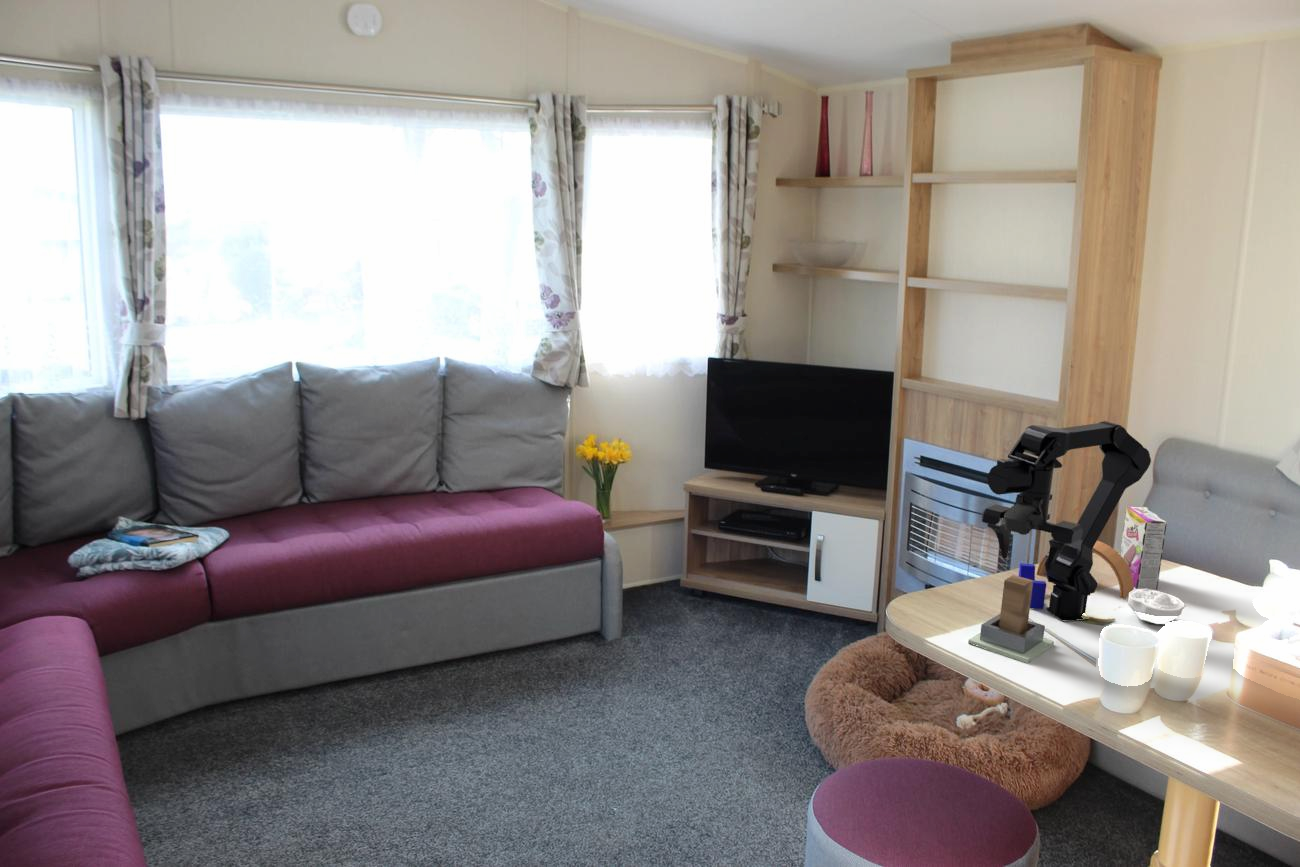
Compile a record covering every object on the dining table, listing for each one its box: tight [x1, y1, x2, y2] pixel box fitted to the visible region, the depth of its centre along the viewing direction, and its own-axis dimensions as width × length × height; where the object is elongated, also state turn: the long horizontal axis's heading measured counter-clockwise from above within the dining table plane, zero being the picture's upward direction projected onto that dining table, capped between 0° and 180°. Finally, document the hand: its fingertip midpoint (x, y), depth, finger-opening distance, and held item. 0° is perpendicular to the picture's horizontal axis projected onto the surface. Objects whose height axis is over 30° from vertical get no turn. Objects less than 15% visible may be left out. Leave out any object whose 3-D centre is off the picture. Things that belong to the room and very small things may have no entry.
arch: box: [1036, 540, 1135, 600], centre depth 248 cm, size 6×20×10 cm, turn 46°
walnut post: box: [999, 574, 1033, 635], centre depth 213 cm, size 4×4×12 cm
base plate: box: [967, 632, 1055, 664], centre depth 214 cm, size 12×12×1 cm
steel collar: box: [979, 612, 1046, 654], centre depth 214 cm, size 9×9×3 cm
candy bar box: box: [1119, 505, 1168, 591], centre depth 250 cm, size 11×5×16 cm, turn 179°
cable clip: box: [1018, 562, 1047, 610], centre depth 238 cm, size 12×4×6 cm, turn 173°
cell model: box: [1127, 588, 1186, 617], centre depth 228 cm, size 10×12×7 cm
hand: (1026, 564), depth 222 cm, fingers open, 9 cm apart
